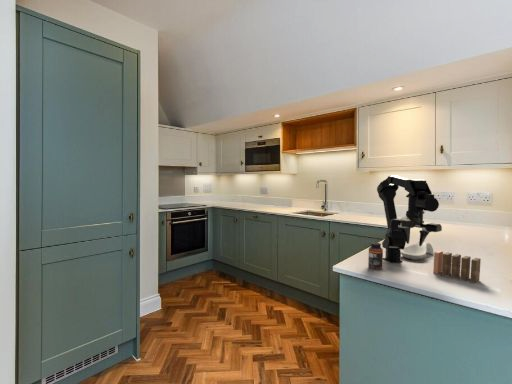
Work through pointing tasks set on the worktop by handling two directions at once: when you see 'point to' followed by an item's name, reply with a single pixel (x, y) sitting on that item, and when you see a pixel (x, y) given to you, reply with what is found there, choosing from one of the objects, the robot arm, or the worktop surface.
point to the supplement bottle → (375, 256)
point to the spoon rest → (417, 251)
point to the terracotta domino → (438, 262)
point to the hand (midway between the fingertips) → (414, 244)
